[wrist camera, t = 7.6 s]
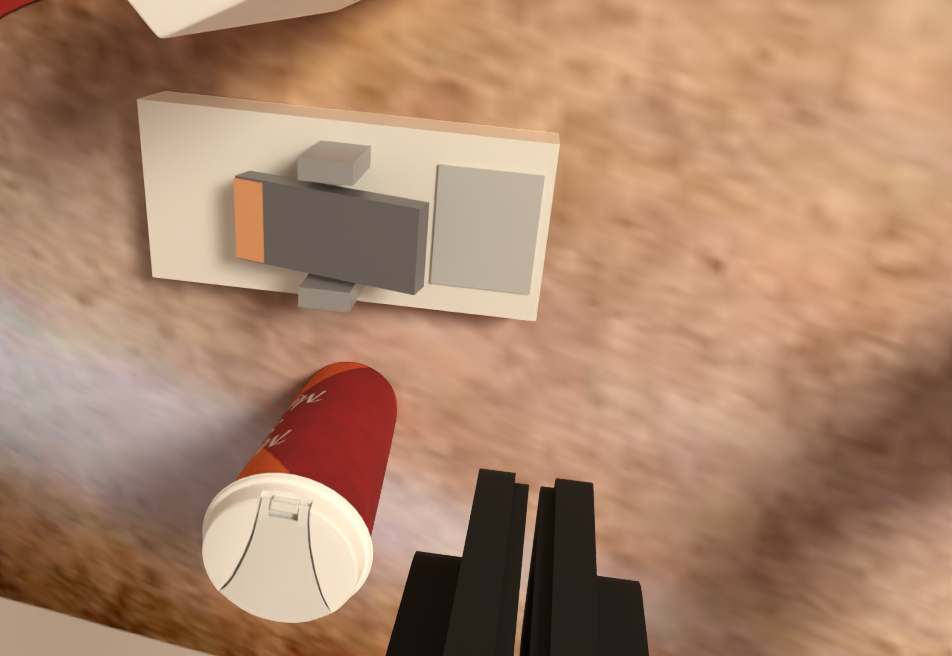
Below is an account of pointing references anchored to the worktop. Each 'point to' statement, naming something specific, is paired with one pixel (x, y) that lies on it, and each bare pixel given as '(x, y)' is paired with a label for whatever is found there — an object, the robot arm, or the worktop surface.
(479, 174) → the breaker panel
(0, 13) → the cayenne pepper
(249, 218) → the breaker paddle
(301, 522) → the paper cup
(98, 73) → the worktop surface
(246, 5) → the milk
